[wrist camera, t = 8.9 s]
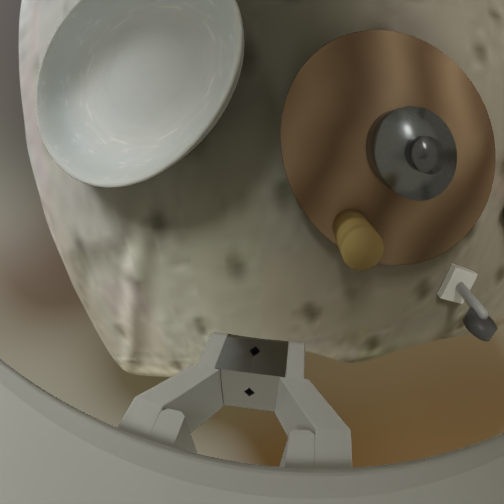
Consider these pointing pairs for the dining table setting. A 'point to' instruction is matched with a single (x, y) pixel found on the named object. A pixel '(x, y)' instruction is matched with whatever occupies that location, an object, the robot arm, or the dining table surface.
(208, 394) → the robot arm
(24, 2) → the dining table surface
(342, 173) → the turntable
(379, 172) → the cover
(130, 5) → the serving bowl
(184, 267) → the dining table surface
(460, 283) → the joystick
